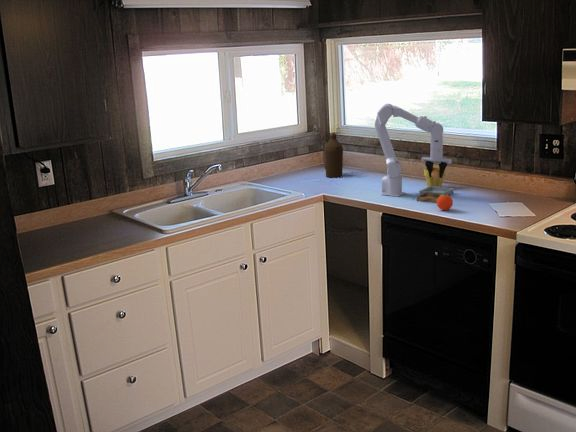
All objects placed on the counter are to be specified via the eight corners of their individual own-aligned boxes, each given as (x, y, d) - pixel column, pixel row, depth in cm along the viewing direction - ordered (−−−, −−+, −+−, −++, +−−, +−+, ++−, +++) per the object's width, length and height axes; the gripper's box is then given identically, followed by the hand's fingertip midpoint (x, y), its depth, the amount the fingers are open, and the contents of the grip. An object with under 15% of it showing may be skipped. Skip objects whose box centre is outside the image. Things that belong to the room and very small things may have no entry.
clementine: (431, 210, 278) (431, 194, 276) (438, 207, 283) (439, 191, 281) (448, 212, 273) (448, 197, 271) (455, 209, 278) (455, 193, 276)
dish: (419, 195, 305) (419, 190, 304) (430, 190, 314) (430, 185, 313) (442, 198, 298) (443, 193, 297) (453, 193, 307) (453, 188, 306)
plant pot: (436, 190, 313) (436, 171, 310) (419, 188, 320) (419, 169, 318) (448, 187, 319) (449, 168, 317) (432, 184, 327) (432, 166, 324)
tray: (417, 200, 295) (417, 196, 295) (425, 196, 302) (425, 192, 301) (438, 203, 289) (439, 199, 288) (447, 199, 295) (447, 195, 295)
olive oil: (347, 175, 359) (346, 131, 352) (336, 178, 351) (335, 134, 344) (331, 173, 365) (330, 130, 359) (321, 177, 357) (319, 133, 351)
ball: (429, 179, 302) (429, 169, 300) (433, 177, 305) (433, 168, 304) (438, 180, 299) (438, 170, 298) (442, 178, 303) (442, 169, 301)
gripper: (418, 149, 299) (418, 177, 303) (447, 151, 291) (447, 180, 295) (425, 147, 305) (424, 174, 308) (453, 149, 296) (452, 177, 300)
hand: (436, 177), depth 302 cm, fingers closed on ball, 4 cm apart
